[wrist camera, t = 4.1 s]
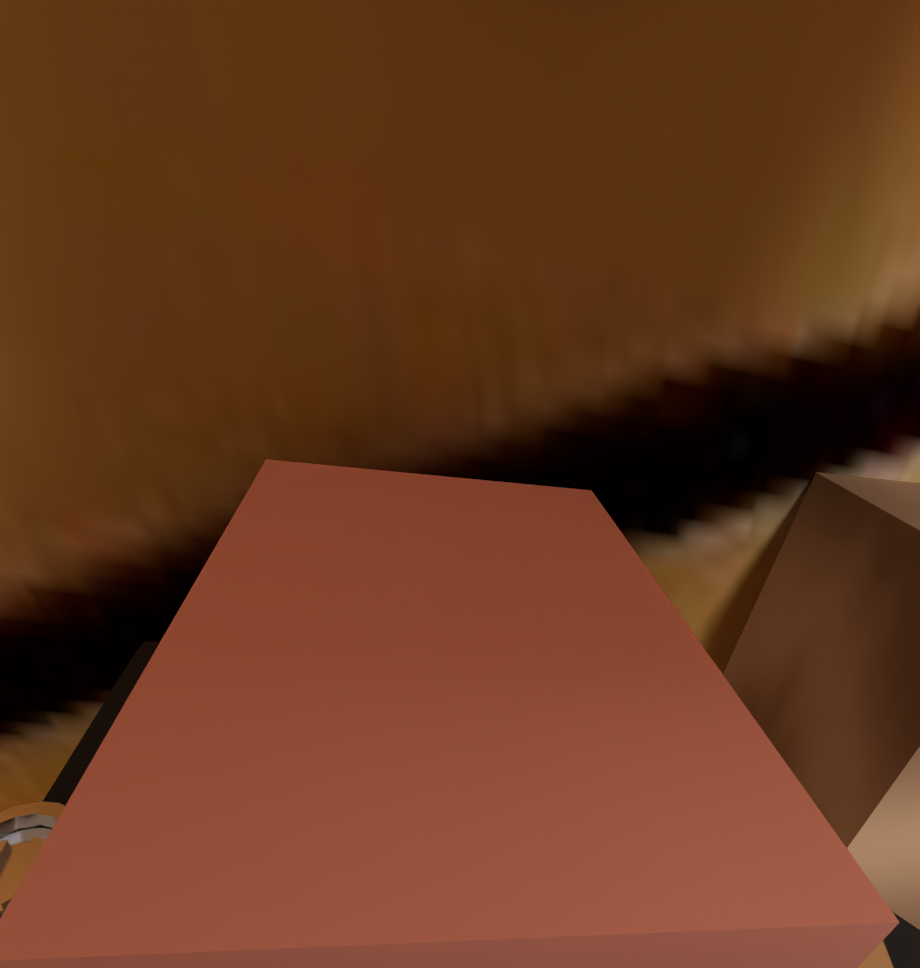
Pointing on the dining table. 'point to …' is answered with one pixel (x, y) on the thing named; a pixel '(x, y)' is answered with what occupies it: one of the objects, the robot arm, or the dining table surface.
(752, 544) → the dining table surface
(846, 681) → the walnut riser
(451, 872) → the red block
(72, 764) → the robot arm
